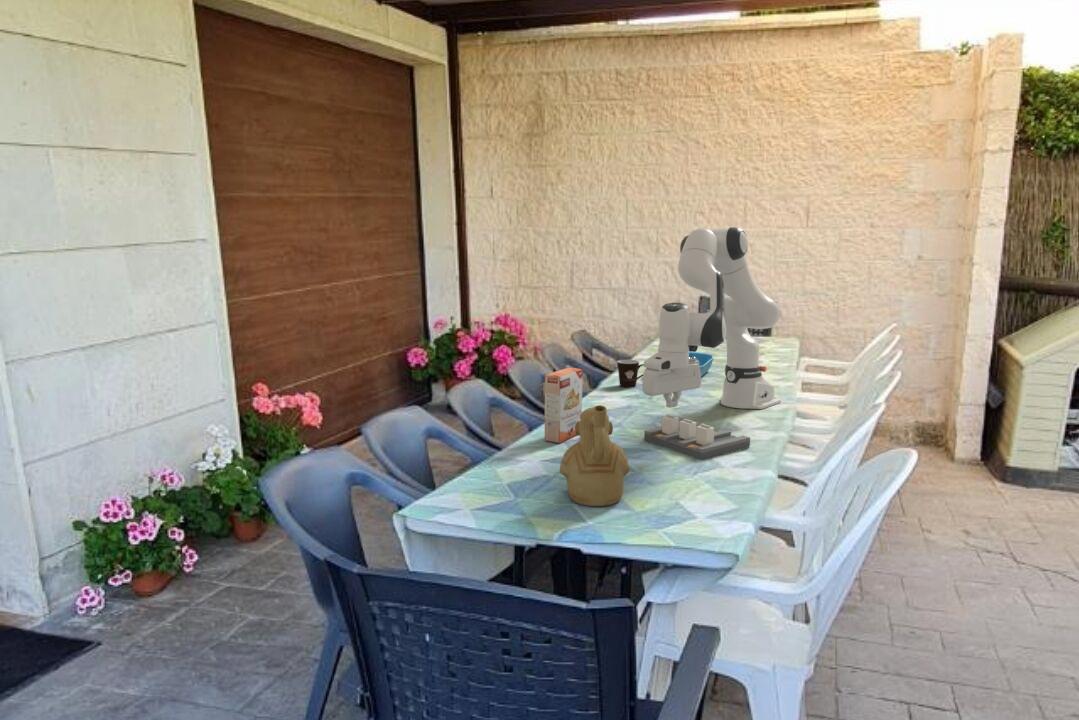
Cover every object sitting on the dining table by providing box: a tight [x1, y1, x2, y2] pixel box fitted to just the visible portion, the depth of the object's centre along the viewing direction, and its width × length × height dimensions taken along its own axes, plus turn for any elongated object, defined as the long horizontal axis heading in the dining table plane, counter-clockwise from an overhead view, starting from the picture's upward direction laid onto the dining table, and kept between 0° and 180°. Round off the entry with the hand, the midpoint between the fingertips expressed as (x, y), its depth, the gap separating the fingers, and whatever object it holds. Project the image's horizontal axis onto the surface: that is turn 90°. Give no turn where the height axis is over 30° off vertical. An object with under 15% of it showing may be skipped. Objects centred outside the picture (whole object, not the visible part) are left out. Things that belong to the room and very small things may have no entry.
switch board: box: [643, 420, 751, 461], centre depth 236 cm, size 20×24×3 cm
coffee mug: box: [616, 359, 644, 389], centre depth 313 cm, size 12×9×10 cm
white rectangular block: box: [679, 418, 698, 440], centre depth 233 cm, size 3×4×6 cm
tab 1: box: [661, 413, 680, 434], centre depth 239 cm, size 3×4×6 cm
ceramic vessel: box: [559, 404, 631, 507], centre depth 190 cm, size 17×20×25 cm
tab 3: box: [696, 423, 715, 445], centre depth 228 cm, size 3×4×6 cm
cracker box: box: [544, 367, 584, 444], centre depth 242 cm, size 14×6×21 cm, turn 148°
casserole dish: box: [689, 351, 715, 377], centre depth 336 cm, size 37×22×7 cm, turn 155°
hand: (671, 406), depth 228 cm, fingers closed
